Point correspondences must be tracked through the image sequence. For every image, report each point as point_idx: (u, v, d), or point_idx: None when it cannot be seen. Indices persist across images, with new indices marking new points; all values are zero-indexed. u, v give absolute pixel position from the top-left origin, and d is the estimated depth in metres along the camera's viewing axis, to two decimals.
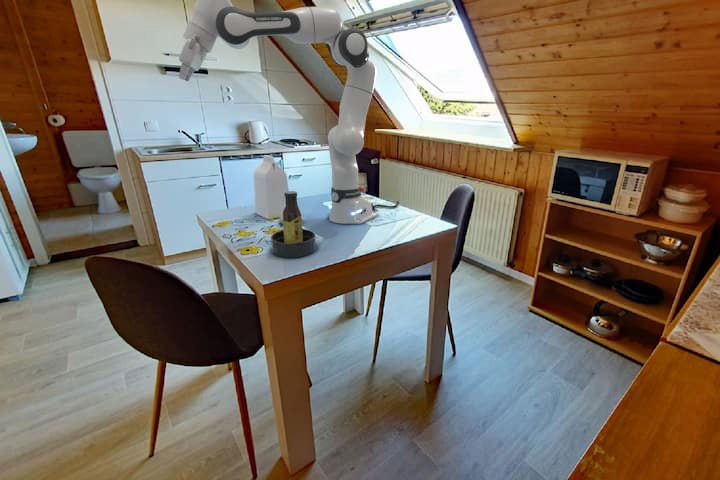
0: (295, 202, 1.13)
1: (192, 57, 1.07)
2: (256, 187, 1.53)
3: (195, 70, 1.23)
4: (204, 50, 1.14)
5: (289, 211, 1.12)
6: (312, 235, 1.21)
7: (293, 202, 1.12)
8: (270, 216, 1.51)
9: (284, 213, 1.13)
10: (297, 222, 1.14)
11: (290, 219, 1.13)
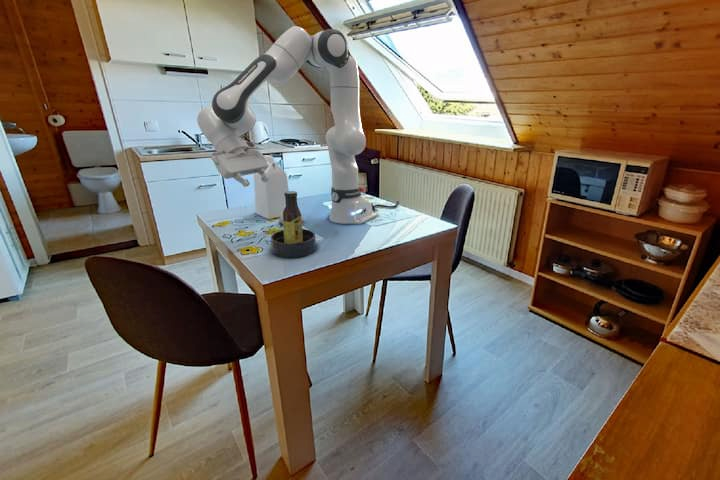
0: (295, 202, 1.13)
1: (224, 166, 1.08)
2: (256, 187, 1.53)
3: (267, 167, 1.24)
4: (237, 151, 1.14)
5: (289, 211, 1.12)
6: (312, 235, 1.21)
7: (293, 202, 1.12)
8: (270, 216, 1.51)
9: (284, 213, 1.13)
10: (297, 222, 1.14)
11: (290, 219, 1.13)
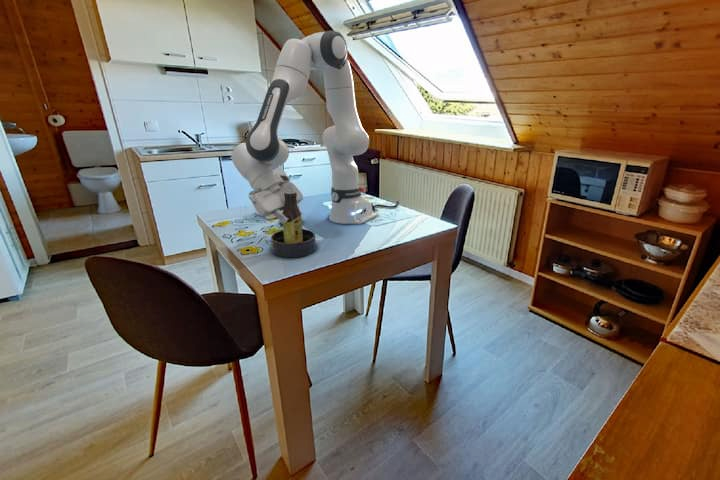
0: (295, 202, 1.13)
1: (262, 205, 1.06)
2: None
3: (301, 199, 1.22)
4: (273, 187, 1.13)
5: (288, 211, 1.12)
6: (312, 235, 1.21)
7: (293, 202, 1.12)
8: (270, 216, 1.51)
9: (284, 213, 1.13)
10: (297, 222, 1.14)
11: (290, 219, 1.13)
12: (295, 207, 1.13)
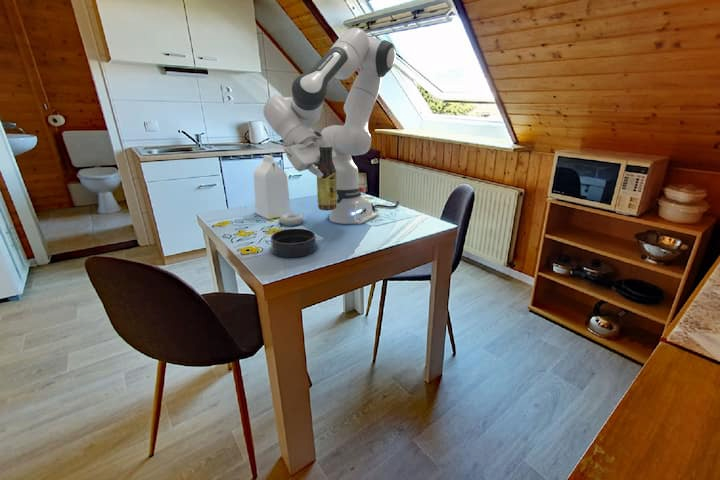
0: (330, 157, 1.07)
1: (298, 157, 1.00)
2: (256, 187, 1.53)
3: (335, 157, 1.16)
4: (307, 141, 1.07)
5: (324, 166, 1.06)
6: (312, 235, 1.21)
7: (329, 157, 1.06)
8: (270, 216, 1.51)
9: (319, 169, 1.07)
10: (333, 179, 1.08)
11: (326, 175, 1.06)
12: (331, 162, 1.07)
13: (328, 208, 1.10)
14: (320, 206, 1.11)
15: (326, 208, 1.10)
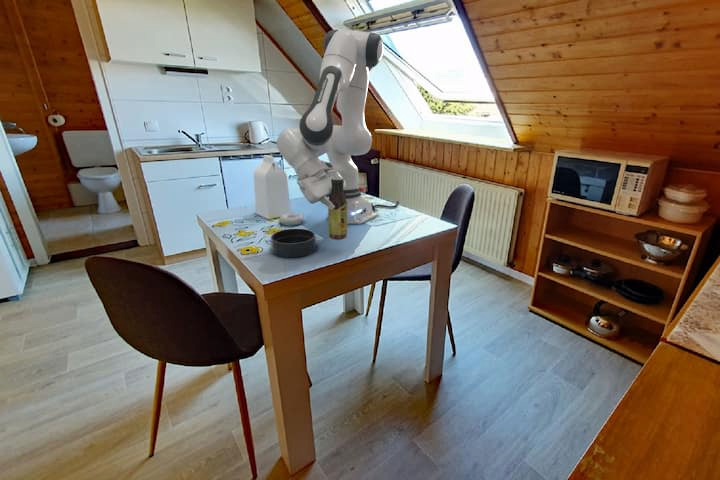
0: (342, 189, 1.10)
1: (311, 191, 1.03)
2: (256, 187, 1.53)
3: (345, 187, 1.19)
4: (319, 173, 1.10)
5: (335, 198, 1.09)
6: (312, 235, 1.21)
7: (340, 189, 1.09)
8: (270, 216, 1.51)
9: (330, 200, 1.10)
10: (344, 210, 1.11)
11: (337, 207, 1.10)
12: (342, 194, 1.10)
13: (339, 238, 1.13)
14: (331, 235, 1.14)
15: (337, 238, 1.13)
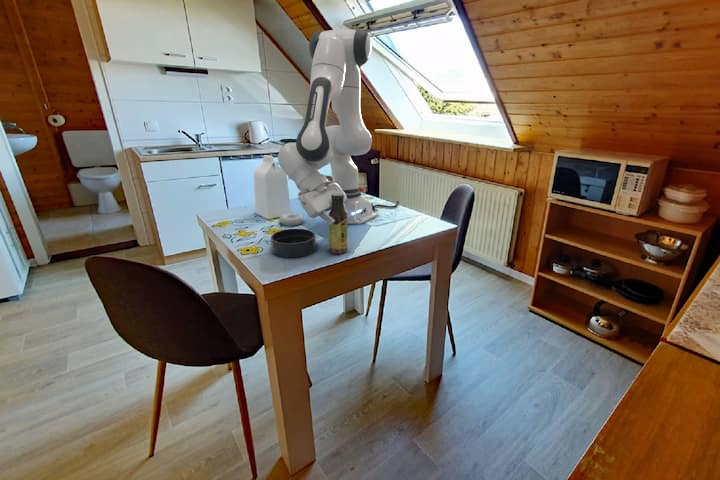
0: (342, 204, 1.12)
1: (312, 206, 1.05)
2: (256, 187, 1.53)
3: (345, 199, 1.21)
4: (320, 187, 1.12)
5: (336, 213, 1.11)
6: (312, 235, 1.21)
7: (340, 204, 1.11)
8: (270, 216, 1.51)
9: (331, 215, 1.12)
10: (344, 224, 1.13)
11: (337, 222, 1.12)
12: (342, 209, 1.12)
13: (339, 252, 1.15)
14: (331, 250, 1.16)
15: (337, 252, 1.15)
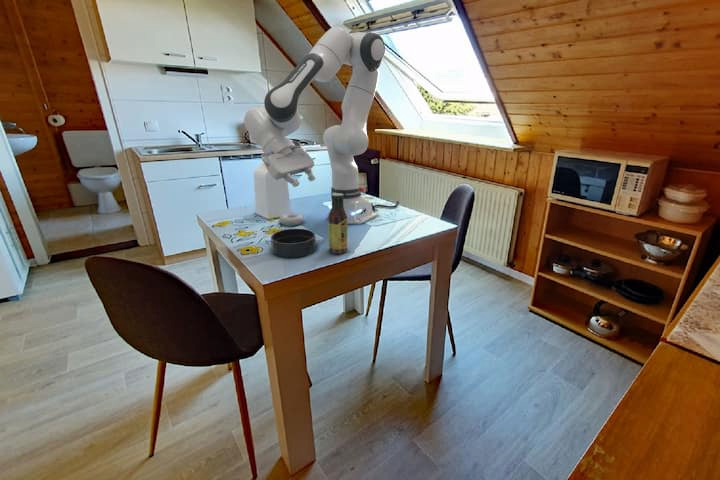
0: (342, 204, 1.12)
1: (275, 167, 1.06)
2: (256, 187, 1.53)
3: (313, 165, 1.22)
4: (285, 150, 1.13)
5: (336, 213, 1.11)
6: (312, 235, 1.21)
7: (340, 204, 1.11)
8: (270, 216, 1.51)
9: (331, 215, 1.12)
10: (344, 224, 1.13)
11: (337, 222, 1.12)
12: (342, 209, 1.12)
13: (339, 252, 1.15)
14: (331, 250, 1.16)
15: (337, 252, 1.15)
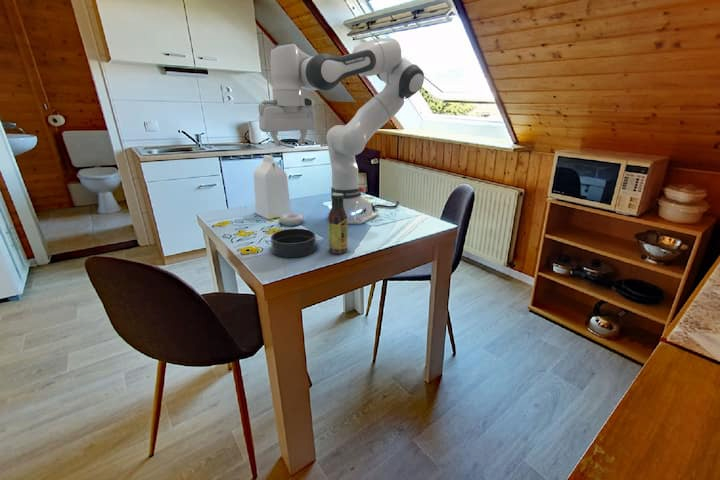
0: (342, 204, 1.12)
1: (264, 122, 1.05)
2: (256, 187, 1.53)
3: (312, 129, 1.19)
4: (288, 108, 1.09)
5: (336, 213, 1.11)
6: (312, 235, 1.21)
7: (340, 204, 1.11)
8: (270, 216, 1.51)
9: (331, 215, 1.12)
10: (344, 224, 1.13)
11: (337, 222, 1.12)
12: (342, 209, 1.12)
13: (339, 252, 1.15)
14: (331, 250, 1.16)
15: (337, 252, 1.15)
